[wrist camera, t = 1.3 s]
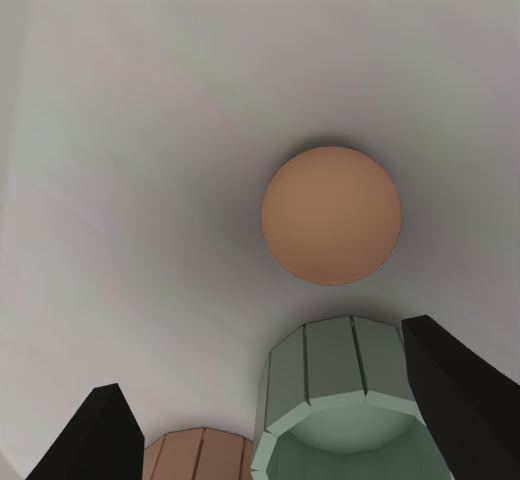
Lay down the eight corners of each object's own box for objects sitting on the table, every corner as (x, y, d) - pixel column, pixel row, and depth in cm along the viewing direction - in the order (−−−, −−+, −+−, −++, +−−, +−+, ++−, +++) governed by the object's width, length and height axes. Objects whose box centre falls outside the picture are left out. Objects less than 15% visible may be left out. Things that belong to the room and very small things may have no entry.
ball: (330, 106, 18) (342, 130, 14) (413, 196, 19) (450, 246, 15) (240, 194, 20) (223, 241, 15) (321, 272, 21) (329, 338, 16)
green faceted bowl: (353, 284, 21) (370, 353, 16) (466, 394, 23) (509, 483, 18) (227, 384, 24) (211, 467, 19) (338, 475, 26) (347, 571, 21)
